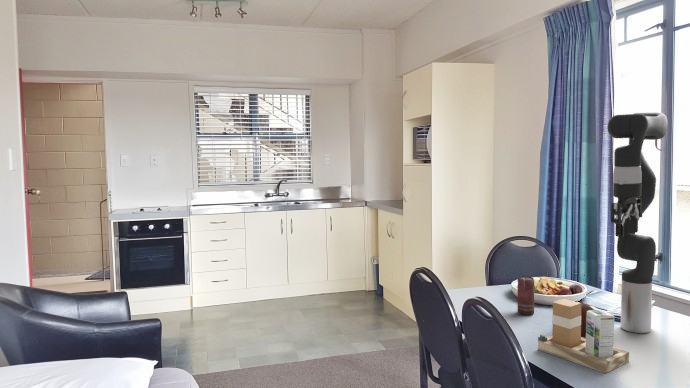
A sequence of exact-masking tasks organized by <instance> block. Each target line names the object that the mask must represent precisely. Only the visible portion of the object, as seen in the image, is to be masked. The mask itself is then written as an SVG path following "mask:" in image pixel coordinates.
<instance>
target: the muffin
mask: <svg viewBox="0 0 690 388" xmlns="http://www.w3.org/2000/svg"><path fill="white" fill-rule="evenodd" d="M580 303H581V337H582V338H586V317H587V311H589V310H595V309H594V307H592V306H590V305H588V304H587V303H582V302H580Z"/></svg>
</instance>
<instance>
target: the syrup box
mask: <svg viewBox="0 0 690 388" xmlns="http://www.w3.org/2000/svg"><path fill="white" fill-rule="evenodd" d="M585 339H586V350H585V353H586V354H590V355H593V356H596V357H599V358H602V359H607V358H609V357H611V356H613V347H614V341H615V340H614V339H615V315H614V314H612V313H609V312H607V311H606V310H603V309H594V310H589V311H587V317H586V337H585Z"/></svg>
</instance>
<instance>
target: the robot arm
mask: <svg viewBox="0 0 690 388" xmlns="http://www.w3.org/2000/svg"><path fill="white" fill-rule="evenodd" d="M606 128H607V132H608V134H609V135H610V137H612V138H613V139H628V144H627V145H623V146H622V145H621V146H619V147H616V148H615V149H614V157H613V159H614V160H613V161H614V162H613V163H614V166H613V167H614V169H613V175H612V177H613V180H612V181H613V182H612V183H613V184H612V190H613V191H612V192H613V193H612V196H613V197H614V198H617V202H611V207H610V222H611V223H613V224H615V226H614V227H615V231H614V232H615V233H614V235H615V236H616V237H617V240H616V241H617V243H616V250H617V251H616V252H617V253H616V254H617V255H618V257H619V258H620V259H622V260H626V261H632V262H636V265H635V267H634V268H631V269H625V270H624V271H622V272H621V297H620V298H621V301H620V306H621V307H620V328H621V329H622V330H624V331H627V332H631V333H637V334H647V333H650V332H651V331H652V330H651V329H652V306H653V305H652V304H653V303H652V298H653V295H652V294H653V277H654V273H655V264H656V263H655V262H656V261H655V260H656V253H657V248H656V246H657V245H656V242H655V241H656V240H655V239H654V238H653V237H652V236H648V235H641V234H636V233H638V232H639V220H640V218H643V215H644V212H646V210H647V209H648V208H649V207H650V205H651V204H652V203H653V200H654V199H655V196H656V186H657V185H656V184H657V178H656V175H655V173H654V172H655V171H653V169H652V167H651V165H650V164H649V163H648V161H647V160H646V158H645V156H644V153H643V152H642V149H643V146H644V145H643V144H644V140H647V141H648V140H649V141H650V140H653V141H655V140H661V139H663V138H664V137H665V136H666V134H667V131H668V118H667V115H666V114H664V113H663V112H655V111H654V112H634V113H628V114H616V115H613V116H612V117H611V118H610V119H609V120H608V123H607V127H606Z"/></svg>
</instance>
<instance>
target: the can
mask: <svg viewBox="0 0 690 388" xmlns="http://www.w3.org/2000/svg"><path fill="white" fill-rule="evenodd" d="M517 313H518V314H519V315H521V316H525V317H526V316H527V317H529V316H533V315H534V314H535V303H534V279H533V278H532V277H531V276H519V277H518V297H517Z"/></svg>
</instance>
